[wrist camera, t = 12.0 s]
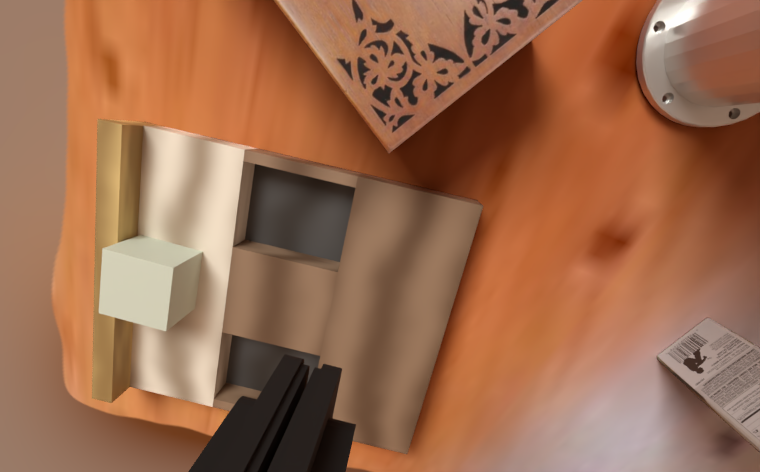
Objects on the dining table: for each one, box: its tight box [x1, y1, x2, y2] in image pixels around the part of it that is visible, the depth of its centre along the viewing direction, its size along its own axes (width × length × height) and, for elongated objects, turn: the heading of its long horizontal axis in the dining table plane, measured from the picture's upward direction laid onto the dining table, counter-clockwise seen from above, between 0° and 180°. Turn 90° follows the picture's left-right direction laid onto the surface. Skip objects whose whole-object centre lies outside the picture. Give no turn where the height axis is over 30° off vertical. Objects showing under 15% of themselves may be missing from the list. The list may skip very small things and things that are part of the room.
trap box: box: [92, 119, 483, 454], centre depth 36 cm, size 32×27×6 cm
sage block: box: [99, 235, 203, 331], centre depth 33 cm, size 6×6×4 cm
